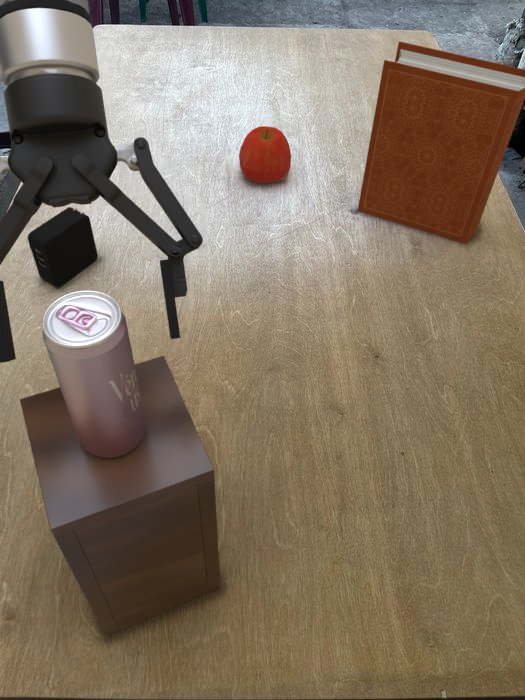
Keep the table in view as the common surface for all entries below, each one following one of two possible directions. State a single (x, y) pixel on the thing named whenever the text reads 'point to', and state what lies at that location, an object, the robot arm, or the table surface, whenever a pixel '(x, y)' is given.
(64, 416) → the stand
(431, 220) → the book
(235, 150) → the table surface
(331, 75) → the table surface
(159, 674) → the table surface
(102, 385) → the beverage can
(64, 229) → the electronic device
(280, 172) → the apple
